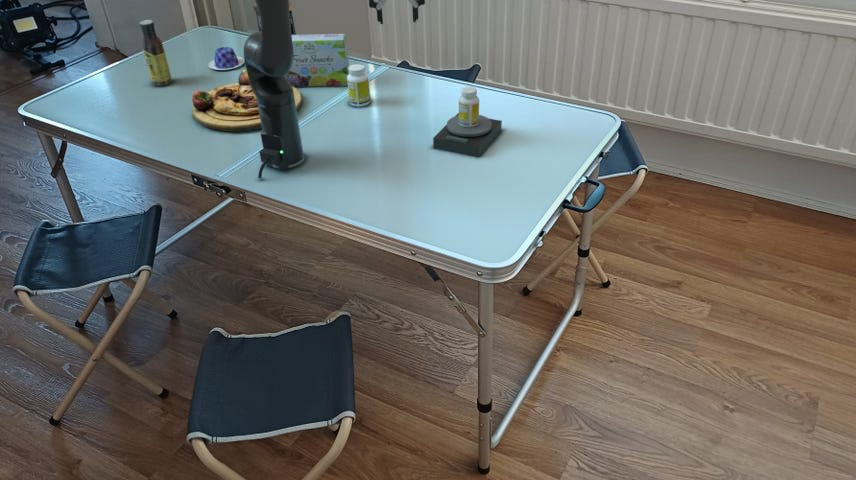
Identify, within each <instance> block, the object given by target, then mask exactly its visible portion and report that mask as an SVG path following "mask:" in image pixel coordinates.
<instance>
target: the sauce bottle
mask: <svg viewBox="0 0 856 480" xmlns="http://www.w3.org/2000/svg"><path fill="white" fill-rule="evenodd" d="M139 27H140V29H141V32H142V36H143V37H142V53H143V55H144V59H145V63H146V67H147V70H148V73H149V77H150V81H151V83H152V84H153V85H154V86H156V87H163V86H167V85H169V84H171V83H172V75H171V74H172V73H171V71H170V67H169V66H170V65H169V62H168V58H167V55H166V51H165V48H164V44H163V41H162V40H161V38H160V37H159V36H158V35H157V32H156V29H155V22H154V20H152V19H143V20H141V21H140V22H139Z"/></svg>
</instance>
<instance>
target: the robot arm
mask: <svg viewBox="0 0 856 480" xmlns="http://www.w3.org/2000/svg"><path fill="white" fill-rule="evenodd" d="M254 1H255V3H256V4H257V7H258V10H259V14H260V19H261V31H259V30H258V31H254V32H253V33H251V34H250V35H248V37H247V38H246V40H245V42H244V45H243V59H244V61H245V62H244V65H245V70H247V74H248V78H249V82H250V86H251V89H252V91H253V92H254V94H255V96H256V100H257V105H258V110H259V115H260V121H261V126H262V128H261V130H262V131H261V132H260V139H261V143H262V149H260V150H259V152H258V153H259V157H260V158H259V159H260V162H261V163H262V164H261V165H260V167H259V170H258V175H257V178H258V179H262V175H263V171H264V168H265V166H266V167H268V168H271V169H276V170H280V171H284V172H285V171H287V170H290V169H293V168H296V167H298V166H300V165H302V164H303V163H304V162H305V154H304V149H303V148H304V147H303V142H302V138H301V130H300V124H299V119H298V118H299V117H298V111H297V110H296V104H295V98H294V91H293V88H292V86H291V84H290V83H289V82H288V80H287V79H286V77H285V76H286V75H287V74H288V72H289V71H290V69H291V67H292V64H293V57H294V53H293V43H292V34H291V26H290V16H289V2H290V0H254ZM387 1H388V0H378V1H375V0H368V7H369V8H371V9H375V10H376V20H377V22H378V23H379V24H380V25H383V24H384V17H383V6H384V4H386V2H387ZM407 1H408V2H409V4H411V5H412V7H411V8H412V10H411V11H412V22H413V23H417V21H418V20H419V7H420V6H425V5H426V0H407Z"/></svg>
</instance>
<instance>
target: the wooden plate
mask: <svg viewBox="0 0 856 480" xmlns="http://www.w3.org/2000/svg"><path fill="white" fill-rule="evenodd" d="M292 88H293V91H294V98H295V104H296V110H297V112H298V111H299V109H300V108H301V106H302V103H303V96H302V93H301V91H300V90H298V88H296V87H293V86H292ZM192 105H193V106H192V108H191V109H192V111H191V113H192V117H193V119H194V120H195V121H196V122H197V123H199V124H200V125H201V126H204V127H206V128H208V129H213V130H217V131H223V132H226V131H227V132H242V131H250V130H251V131H252V130H259V129H262V126H261V121H260V115H259V110H258V105H257V100H256V96H255V94H254V92H253V91H252V89H251V86H250V82H249V78H248V74H247V70H246V69H244V70H241V72H240V74H239V75H238V82H234V83H229V84H226V85H222V86H218V87H215V88H214V89H212V90H209V91H208V92H206V91H205V90H204V91H203V90H195V92H194V93H192Z"/></svg>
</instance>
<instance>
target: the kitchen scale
mask: <svg viewBox="0 0 856 480" xmlns="http://www.w3.org/2000/svg"><path fill="white" fill-rule="evenodd" d="M502 121H503V120H500V119H493V118H489V117H487V116H484V115H481V114H479V123H478V125H476V126H474V127H463V126H461V125H460V124H459V112H458V113H457V114H456V115H454V116H453V117H451V118H449V119H448V120H447V122H446V125H444V127H443V128H441V129H440V131H439V132H437V133H436V135H434V137H433V138H432V142H433V149H437V150H442V151H447V152H451V153H457V154H462V155H468V156H471V157H475V158H476V157H477V158H479V157H480V156H481V155H482V154H483V152H484V151H485V150H486V149H487V148H488V147H489V146H490V145H491V143H492V142H494V140H495V139H496V138H497V137H498V135H499V134H500V133H501V132H502V129H503V127H502V124H503V122H502Z"/></svg>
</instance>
